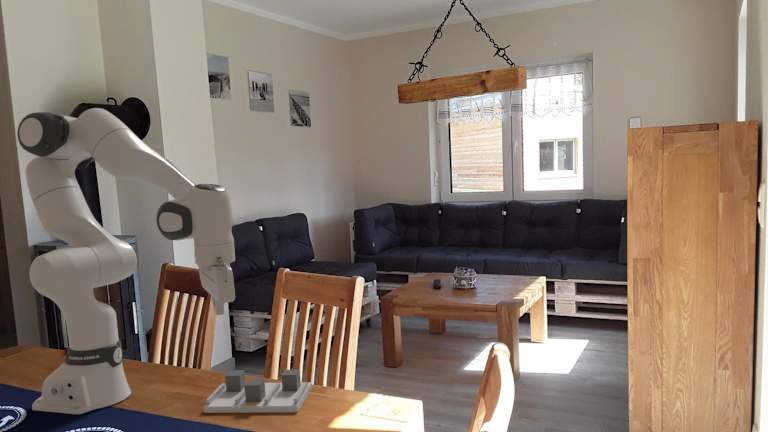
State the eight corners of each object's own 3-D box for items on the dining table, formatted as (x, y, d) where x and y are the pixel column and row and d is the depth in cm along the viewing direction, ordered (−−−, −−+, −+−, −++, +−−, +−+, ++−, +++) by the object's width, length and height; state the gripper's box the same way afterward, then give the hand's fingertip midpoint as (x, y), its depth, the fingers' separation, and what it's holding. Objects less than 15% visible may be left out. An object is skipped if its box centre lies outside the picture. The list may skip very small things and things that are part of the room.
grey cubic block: (245, 402, 140) (244, 385, 139) (250, 395, 143) (249, 379, 143) (260, 402, 139) (259, 385, 139) (265, 395, 143) (264, 379, 142)
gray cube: (226, 391, 147) (225, 375, 146) (231, 385, 150) (230, 370, 150) (240, 391, 146) (239, 375, 146) (245, 385, 150) (244, 370, 149)
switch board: (204, 412, 139) (203, 401, 139) (226, 388, 153) (225, 378, 152) (297, 412, 136) (296, 400, 136) (311, 388, 150) (311, 377, 150)
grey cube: (282, 391, 145) (281, 375, 145) (286, 385, 149) (285, 369, 148) (297, 391, 145) (296, 374, 144) (300, 385, 148) (299, 369, 148)
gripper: (240, 260, 131) (243, 322, 132) (219, 247, 149) (222, 302, 150) (210, 263, 128) (214, 326, 129) (192, 250, 146) (196, 306, 148)
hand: (218, 313), depth 140 cm, fingers closed
